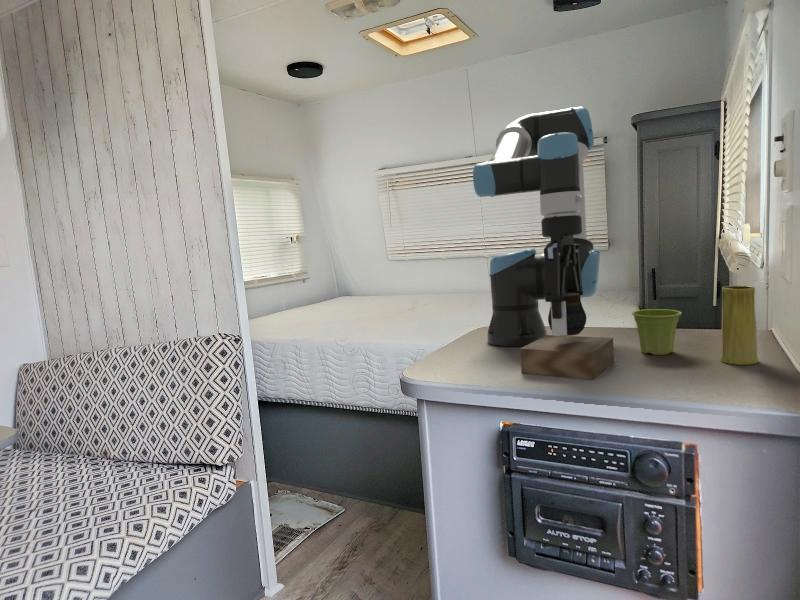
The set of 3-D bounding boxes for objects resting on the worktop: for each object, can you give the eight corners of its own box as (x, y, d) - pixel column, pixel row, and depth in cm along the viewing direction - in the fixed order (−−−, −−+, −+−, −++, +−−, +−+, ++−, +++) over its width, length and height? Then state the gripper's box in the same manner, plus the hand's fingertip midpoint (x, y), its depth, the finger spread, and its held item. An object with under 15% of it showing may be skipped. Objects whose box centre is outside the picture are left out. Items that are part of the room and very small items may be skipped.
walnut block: (521, 373, 104) (520, 348, 103) (547, 357, 115) (546, 335, 114) (593, 379, 95) (592, 352, 95) (614, 361, 106) (613, 337, 106)
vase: (729, 366, 97) (728, 290, 95) (714, 358, 103) (713, 286, 101) (765, 364, 96) (764, 287, 94) (748, 356, 102) (747, 284, 100)
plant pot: (671, 346, 116) (670, 307, 115) (690, 355, 106) (689, 314, 105) (627, 348, 117) (626, 310, 116) (642, 358, 107) (641, 317, 106)
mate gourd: (556, 338, 100) (553, 287, 99) (543, 332, 108) (540, 284, 107) (592, 334, 101) (589, 283, 100) (577, 329, 108) (574, 281, 107)
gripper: (561, 214, 92) (568, 341, 94) (595, 213, 107) (600, 323, 110) (521, 218, 96) (528, 339, 99) (560, 217, 112) (565, 322, 114)
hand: (566, 330), depth 104 cm, fingers closed on mate gourd, 7 cm apart
